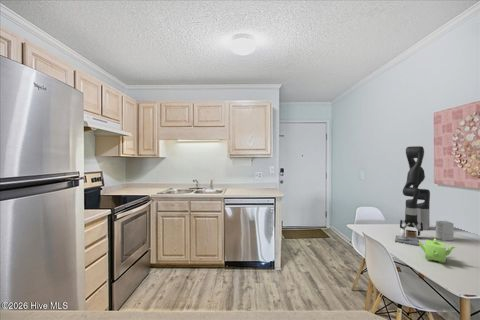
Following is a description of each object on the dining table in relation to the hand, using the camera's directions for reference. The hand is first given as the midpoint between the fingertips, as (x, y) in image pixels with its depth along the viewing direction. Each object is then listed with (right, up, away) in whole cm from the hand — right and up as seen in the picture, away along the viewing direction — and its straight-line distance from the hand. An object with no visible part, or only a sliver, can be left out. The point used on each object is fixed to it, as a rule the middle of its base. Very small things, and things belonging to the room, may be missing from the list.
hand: (411, 234), depth 178 cm
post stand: (-9, -2, -8) cm, 12 cm away
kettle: (-12, -3, -38) cm, 40 cm away
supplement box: (+22, -2, -4) cm, 22 cm away
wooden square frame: (0, -2, 0) cm, 2 cm away
